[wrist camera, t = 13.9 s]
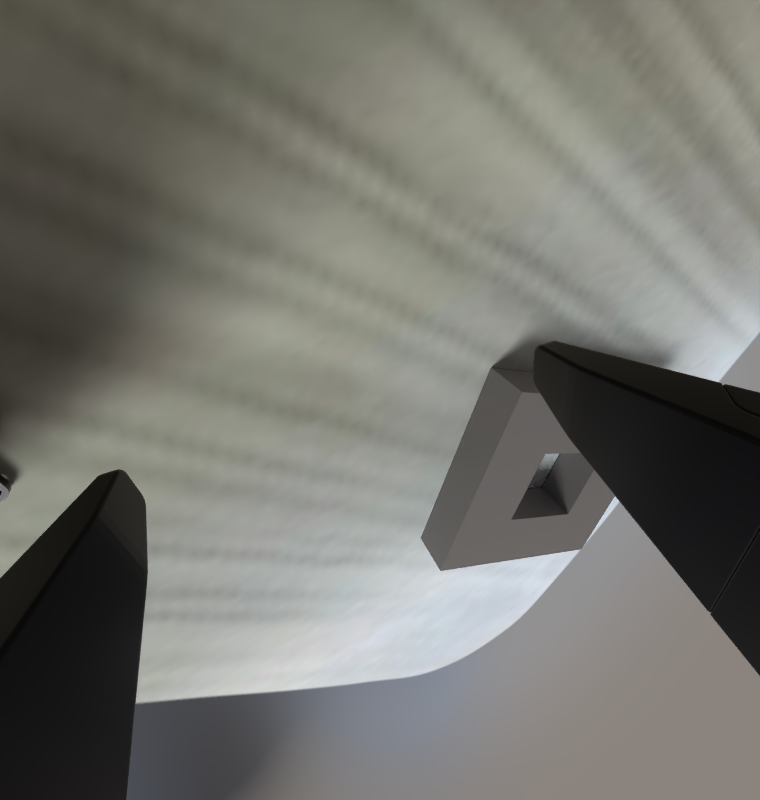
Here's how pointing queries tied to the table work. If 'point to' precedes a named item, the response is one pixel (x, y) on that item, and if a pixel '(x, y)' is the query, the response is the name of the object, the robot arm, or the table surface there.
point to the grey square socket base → (513, 483)
